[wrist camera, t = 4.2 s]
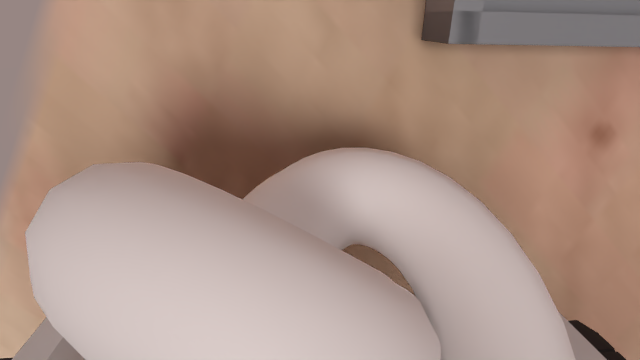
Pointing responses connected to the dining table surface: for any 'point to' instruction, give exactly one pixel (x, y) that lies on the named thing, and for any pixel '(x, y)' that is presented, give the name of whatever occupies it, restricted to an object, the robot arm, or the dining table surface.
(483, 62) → the dining table surface
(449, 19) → the tray
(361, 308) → the white trefoil knot
